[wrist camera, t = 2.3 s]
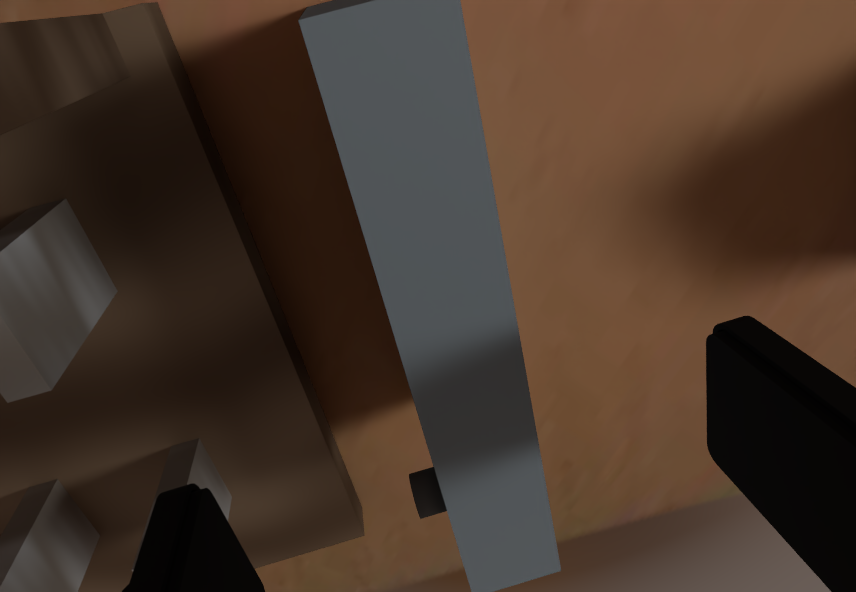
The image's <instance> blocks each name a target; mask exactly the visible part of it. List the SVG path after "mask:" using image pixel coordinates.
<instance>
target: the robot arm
mask: <svg viewBox="0 0 856 592" xmlns="http://www.w3.org/2000/svg"><path fill="white" fill-rule="evenodd" d="M706 381H707V446H708V450H709V452H710V455H711V457H712V458H713V460H714V461H715V463H716V464H717V465H718V466H719V467H720V468H721V470H722V471H723V472H724V473H725V474H726V475H727V476H728V477H729V478H730V480H731V481H732V482H733V483H734V484H735V485H736V486H737V487H738V488H739V489H740V491H741V492H742V493H743V494H744V495H745V496H746V497H747V498H748V499H749V501H751V503H752V504H753V505H754V506H755V507H756V508H757V509H758V510H759V512H760V513H761V514H762V515H763V516H764V517H765V518H766V519H767V520H768V522H769V523H770V524H771V525H772V526H773V527H774V528H775V529H776V530H777V532H778V533H779V534H780V535H781V536H782V537H783V538H784V539H785V541H786V542H787V543H788V544H789V545H790V546H791V547H792V548H793V549H794V551H796V553H797V554H798V555H799V556H800V557H801V558H802V559H803V561H804V562H806V564H807V565H808V566H809V567H810V568H811V569H812V570H813V571H814V573H815V574H816V575H817V576H818V577H819V578H820V579H821V580H822V582H823V583H824V584H825V585H826V586H827V587H828V588H829V589H830V590H831V592H856V388H855V387H854V386H852V385H851V384H849V383H848V382H846V381H845V380H843V379H842V378H841V377H839V376H838V375H836V374H835V373H833V372H832V371H830V370H829V369H827V368H826V367H824V366H823V365H822V364H820V363H819V362H817V361H816V360H814V359H813V358H811V357H810V356H808V355H807V354H806V353H804V352H803V351H801V350H800V349H798V348H797V347H795V346H794V345H792V344H791V343H789V342H788V341H787V340H785V339H784V338H782V337H781V336H779V335H778V334H776V333H775V332H773V331H772V330H771V329H769V328H768V327H766V326H765V325H763V324H762V323H760V322H759V321H757V320H756V319H754V318H753V317H750V316H743V317H739V318H736V319H733V320H729V321H726V322H723V323H720V324H717V325H716V326H715V327H714V329H713V334H711V335H709V336H708V337H707V340H706ZM122 592H265V590H264V586H263V584H262V582H261V580H260V578H259V576H258V575H257V573H256V571H255V569H254V567H253V566H252V564H251V562H250V560H249V558H248V557H247V555H246V553H245V551H244V549H243V548H242V546H241V544H240V542H239V540H238V539H237V537H236V535H235V533H234V531H233V530H232V528H231V526H230V524H229V522H228V521H227V519H226V517H225V515H224V513H223V512H222V510H221V508H220V506H219V504H218V503H217V501H216V499H215V497H214V495H213V494H212V492H211V491H210V489H208V488H204V489H200V488H199V486H198V485H196V484H195V483H191V484H188V485H185V486H181V487H178V488H175V489H172V490H168V491H165V492H162V493H160V494H159V495H158V497H157V499H156V502H155V505H154V508H153V511H152V514H151V517H150V521H149V524H148V527H147V530H146V533H145V536H144V539H143V542H142V545H141V549H140V552H139V555H138V558H137V561H136V564H135V567H134V570H133V573H132V577H131V580H130V583H129V584H128V585H127V586H126V587H125V588H124V589H123V590H122Z"/></svg>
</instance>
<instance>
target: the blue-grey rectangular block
mask: <svg viewBox="0 0 856 592" xmlns="http://www.w3.org/2000/svg"><path fill="white" fill-rule="evenodd" d="M298 21H299V24H300V27H301V30H302V34H303V37H304V40H305V44H306V47H307V50H308V54H309V57H310V60H311V63H312V67H313V70H314V73H315V77H316V80H317V83H318V87H319V90H320V93H321V96H322V100H323V103H324V106H325V110H326V113H327V116H328V120H329V123H330V126H331V129H332V133H333V136H334V139H335V143H336V146H337V149H338V152H339V156H340V159H341V162H342V166H343V169H344V172H345V176H346V179H347V182H348V185H349V189H350V192H351V195H352V199H353V202H354V205H355V209H356V212H357V215H358V218H359V222H360V225H361V228H362V232H363V235H364V238H365V242H366V245H367V248H368V251H369V255H370V258H371V261H372V265H373V268H374V271H375V275H376V278H377V281H378V284H379V288H380V291H381V294H382V298H383V301H384V304H385V308H386V311H387V314H388V317H389V321H390V324H391V327H392V331H393V334H394V337H395V341H396V344H397V347H398V350H399V354H400V357H401V360H402V364H403V367H404V370H405V373H406V377H407V380H408V383H409V387H410V390H411V393H412V397H413V400H414V403H415V406H416V410H417V413H418V416H419V420H420V423H421V426H422V430H423V433H424V436H425V439H426V443H427V446H428V449H429V453H430V456H431V459H432V463H433V466H434V467H432V468H428V469H425V470H421V471H418V472H415V473H411V474H409V479H410V484H411V489H412V493H413V497H414V501H415V504H416V508H417V511H418V514H419V517H420V519H422V518H425V517H428V516H432V515H435V514H438V513H442V512H445V511H447V512H448V515H449V519H450V522H451V525H452V529H453V532H454V535H455V538H456V542H457V545H458V548H459V552H460V555H461V558H462V561H463V565H464V568H465V571H466V574H467V578H468V581H469V585H470V588H471V591H472V592H493V591H496V590H499V589H503V588H506V587H510V586H513V585H516V584H519V583H523V582H526V581H529V580H532V579H536V578H539V577H542V576H545V575H549V574H552V573H555V572H558V571H561V568H560V562H559V557H558V551H557V545H556V539H555V534H554V528H553V522H552V517H551V511H550V505H549V500H548V494H547V488H546V483H545V477H544V472H543V466H542V460H541V455H540V449H539V443H538V438H537V432H536V426H535V421H534V415H533V409H532V404H531V398H530V392H529V387H528V381H527V375H526V370H525V364H524V358H523V353H522V347H521V342H520V336H519V330H518V325H517V319H516V313H515V308H514V302H513V296H512V291H511V285H510V279H509V274H508V268H507V262H506V257H505V251H504V245H503V240H502V234H501V228H500V223H499V217H498V212H497V206H496V200H495V195H494V189H493V183H492V178H491V172H490V166H489V161H488V155H487V149H486V144H485V138H484V132H483V127H482V121H481V115H480V110H479V104H478V98H477V93H476V87H475V81H474V76H473V70H472V65H471V59H470V53H469V48H468V42H467V36H466V31H465V25H464V19H463V14H462V8H461V2H460V0H333V1H329V2H325V3H321V4H317V5H313V6H310V7H307V8H306V9H305V11H304V12H303V14H302V15H301V17H300V19H299V20H298Z"/></svg>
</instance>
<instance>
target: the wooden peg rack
mask: <svg viewBox="0 0 856 592" xmlns="http://www.w3.org/2000/svg"><path fill="white" fill-rule="evenodd" d="M191 483H195V484H196V485H198V486H199V488H200V489H204V488H208V489H210V491H211V492H212V494H213V495H214V497H215V499H216V501H217V503H218V504H219V506H220V508H221V510H222V512H223V513H224V515H225V517H226V519H227V521H228V522H229V524H230V526H231V528H232V530H233V531H234V533H235V535H236V537H237V539H238V540H239V542H240V544H241V546H242V548H243V549H244V551H245V553H246V555H247V557H248V558H249V560H250V562H251V564H252V566H253V567H254V569H255V568H258V567H261V566H265V565H268V564H271V563H275V562H278V561H281V560H285V559H288V558H291V557H295V556H298V555H301V554H305V553H308V552H311V551H315V550H318V549H321V548H325V547H328V546H331V545H335V544H338V543H341V542H345V541H348V540H351V539H355V538H358V537H361V536H365V535H364V524H363V513H362V506H361V504H360V501H359V499H358V496H357V494H356V491H355V489H354V486H353V484H352V481H351V479H350V477H349V474H348V472H347V469H346V467H345V464H344V462H343V459H342V457H341V454H340V452H339V449H338V447H337V444H336V442H335V440H334V437H333V435H332V432H331V430H330V427H329V425H328V422H327V420H326V417H325V415H324V412H323V410H322V407H321V405H320V403H319V400H318V398H317V395H316V393H315V390H314V388H313V385H312V383H311V380H310V378H309V375H308V373H307V370H306V368H305V366H304V363H303V361H302V358H301V356H300V353H299V351H298V348H297V346H296V343H295V341H294V338H293V336H292V333H291V331H290V329H289V326H288V324H287V321H286V319H285V316H284V314H283V311H282V309H281V306H280V304H279V301H278V299H277V296H276V294H275V292H274V289H273V287H272V284H271V282H270V279H269V277H268V274H267V272H266V269H265V267H264V264H263V262H262V259H261V257H260V255H259V252H258V250H257V247H256V245H255V242H254V240H253V237H252V235H251V232H250V230H249V227H248V225H247V222H246V220H245V218H244V215H243V213H242V210H241V208H240V205H239V203H238V200H237V198H236V195H235V193H234V190H233V188H232V185H231V183H230V181H229V178H228V176H227V173H226V171H225V168H224V166H223V163H222V161H221V158H220V156H219V153H218V151H217V148H216V146H215V144H214V141H213V139H212V136H211V134H210V131H209V129H208V126H207V124H206V121H205V119H204V116H203V114H202V111H201V109H200V106H199V104H198V102H197V99H196V97H195V94H194V92H193V89H192V87H191V84H190V82H189V79H188V77H187V74H186V72H185V69H184V67H183V65H182V62H181V60H180V57H179V55H178V52H177V50H176V47H175V45H174V42H173V40H172V37H171V35H170V32H169V30H168V28H167V25H166V23H165V20H164V18H163V15H162V13H161V10H160V8H159V5H158V3H157V2H155V3H142V4H138V5H134V6H130V7H126V8H122V9H118V10H114V11H110V12H106V13H102V14H92V15H81V16H71V17H60V18H49V19H39V20H28V21H18V22H7V23H0V592H122V590H123V589H124V588H125V587H126V586H127V585H128V584H129V583H130V580H131V577H132V573H133V570H134V567H135V564H136V561H137V558H138V555H139V552H140V549H141V545H142V542H143V539H144V536H145V533H146V530H147V527H148V524H149V521H150V517H151V514H152V511H153V508H154V505H155V502H156V499H157V497H158V495H159V494H160V493H162V492H165V491H168V490H172V489H175V488H178V487H181V486H185V485H188V484H191Z"/></svg>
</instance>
